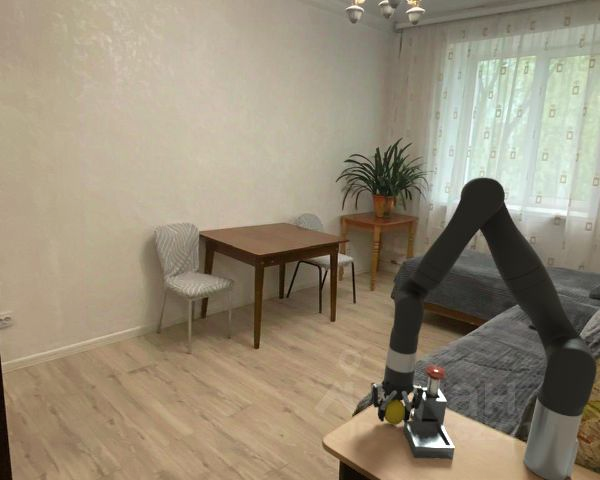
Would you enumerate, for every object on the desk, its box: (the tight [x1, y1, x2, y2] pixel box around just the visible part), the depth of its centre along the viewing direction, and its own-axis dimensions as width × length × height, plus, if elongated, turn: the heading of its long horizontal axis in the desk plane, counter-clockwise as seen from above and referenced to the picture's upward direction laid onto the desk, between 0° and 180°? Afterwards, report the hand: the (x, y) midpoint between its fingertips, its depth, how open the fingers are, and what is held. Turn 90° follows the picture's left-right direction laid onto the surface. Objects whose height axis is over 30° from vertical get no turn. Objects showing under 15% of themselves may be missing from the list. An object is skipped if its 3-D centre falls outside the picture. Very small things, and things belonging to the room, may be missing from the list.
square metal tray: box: [402, 420, 456, 460], centre depth 107 cm, size 10×10×3 cm
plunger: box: [425, 364, 446, 398], centre depth 113 cm, size 5×5×10 cm
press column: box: [410, 387, 448, 431], centre depth 115 cm, size 7×7×9 cm
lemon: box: [384, 400, 405, 426], centre depth 113 cm, size 6×6×8 cm
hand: (392, 419), depth 114 cm, fingers open, 5 cm apart
